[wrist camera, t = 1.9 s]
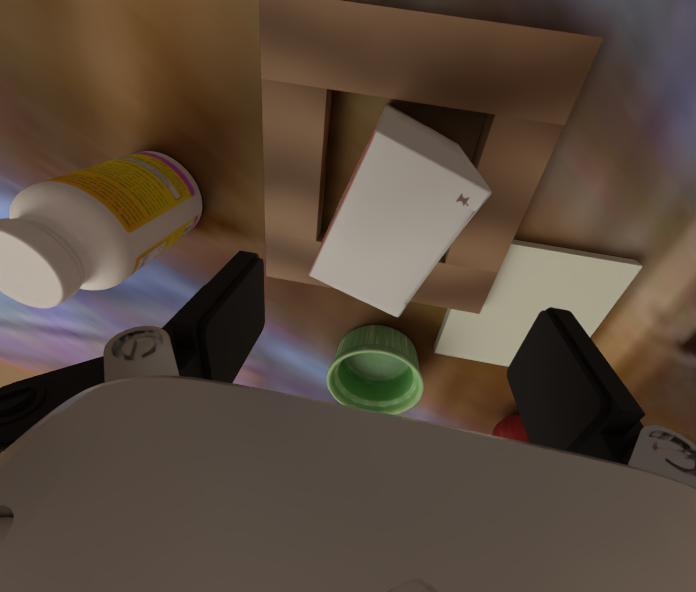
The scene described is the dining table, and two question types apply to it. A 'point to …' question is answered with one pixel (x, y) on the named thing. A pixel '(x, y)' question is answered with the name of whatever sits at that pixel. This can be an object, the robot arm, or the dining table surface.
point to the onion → (511, 429)
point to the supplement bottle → (94, 227)
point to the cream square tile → (535, 299)
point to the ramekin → (376, 371)
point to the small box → (398, 213)
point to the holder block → (421, 87)
